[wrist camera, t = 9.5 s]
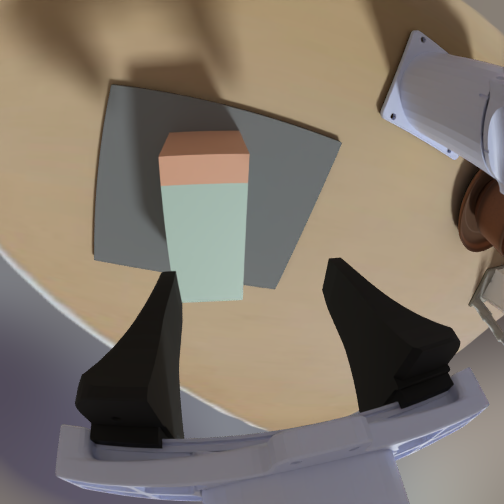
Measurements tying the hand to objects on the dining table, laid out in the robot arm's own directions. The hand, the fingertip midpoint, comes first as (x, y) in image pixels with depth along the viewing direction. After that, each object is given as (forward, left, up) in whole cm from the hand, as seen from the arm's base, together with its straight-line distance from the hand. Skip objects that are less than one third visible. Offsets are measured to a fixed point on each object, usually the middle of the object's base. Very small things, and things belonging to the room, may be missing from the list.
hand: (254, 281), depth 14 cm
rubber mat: (+2, +1, -9) cm, 10 cm away
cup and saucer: (-26, -8, -10) cm, 29 cm away
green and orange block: (+2, +1, -9) cm, 9 cm away
